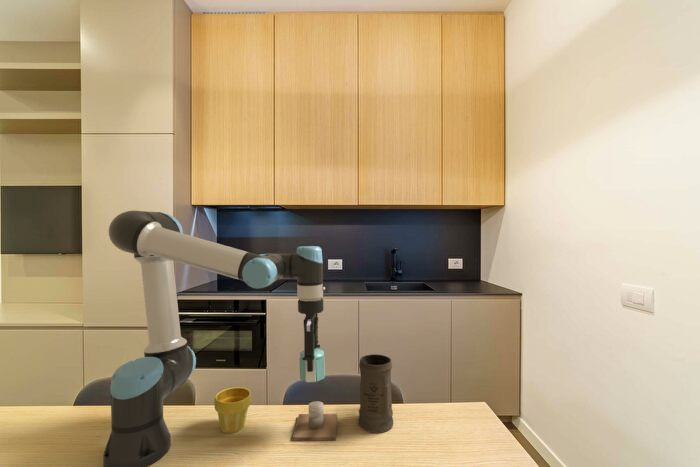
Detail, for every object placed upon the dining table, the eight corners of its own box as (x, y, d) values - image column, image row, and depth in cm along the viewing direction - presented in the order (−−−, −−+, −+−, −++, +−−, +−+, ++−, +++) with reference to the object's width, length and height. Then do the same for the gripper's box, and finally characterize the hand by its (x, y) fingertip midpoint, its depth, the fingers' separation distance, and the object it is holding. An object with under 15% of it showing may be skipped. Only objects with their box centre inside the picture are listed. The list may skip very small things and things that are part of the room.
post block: (292, 440, 95) (292, 415, 95) (298, 417, 107) (298, 395, 107) (335, 440, 95) (335, 415, 95) (337, 417, 107) (336, 394, 107)
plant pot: (256, 418, 107) (256, 387, 107) (242, 438, 97) (242, 404, 96) (224, 416, 108) (224, 385, 108) (207, 436, 98) (207, 402, 97)
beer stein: (395, 435, 98) (395, 364, 99) (358, 434, 98) (358, 363, 99) (390, 410, 113) (390, 349, 114) (358, 410, 113) (358, 348, 114)
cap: (298, 382, 97) (298, 357, 97) (302, 371, 104) (301, 349, 104) (323, 381, 97) (323, 357, 97) (325, 371, 104) (324, 348, 104)
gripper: (320, 305, 91) (322, 391, 91) (325, 292, 111) (327, 362, 111) (292, 306, 91) (294, 392, 91) (302, 292, 111) (304, 362, 111)
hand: (312, 375), depth 101 cm, fingers closed on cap, 7 cm apart
